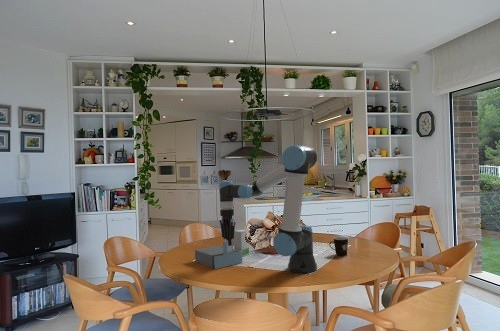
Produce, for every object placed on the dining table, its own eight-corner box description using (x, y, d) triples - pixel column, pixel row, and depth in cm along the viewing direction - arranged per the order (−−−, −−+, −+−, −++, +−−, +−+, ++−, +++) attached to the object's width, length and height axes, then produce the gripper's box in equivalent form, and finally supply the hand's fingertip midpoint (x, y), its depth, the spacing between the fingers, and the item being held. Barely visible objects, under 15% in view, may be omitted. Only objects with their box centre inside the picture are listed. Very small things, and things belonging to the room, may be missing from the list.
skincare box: (241, 257, 215) (240, 231, 216) (233, 256, 219) (232, 231, 220) (250, 254, 222) (249, 229, 222) (241, 253, 226) (241, 228, 226)
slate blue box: (239, 262, 204) (239, 250, 204) (212, 268, 193) (212, 255, 193) (221, 256, 220) (220, 245, 220) (195, 261, 209) (194, 249, 209)
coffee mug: (347, 253, 216) (346, 236, 216) (350, 256, 207) (349, 239, 208) (328, 253, 217) (327, 237, 217) (330, 256, 209) (329, 239, 209)
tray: (242, 262, 201) (241, 238, 201) (215, 269, 190) (214, 243, 191) (223, 256, 217) (223, 234, 217) (197, 262, 206) (197, 238, 207)
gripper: (239, 209, 193) (241, 252, 193) (225, 207, 205) (227, 248, 204) (228, 210, 189) (229, 254, 188) (214, 208, 200) (216, 250, 200)
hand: (228, 251), depth 196 cm, fingers closed on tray
